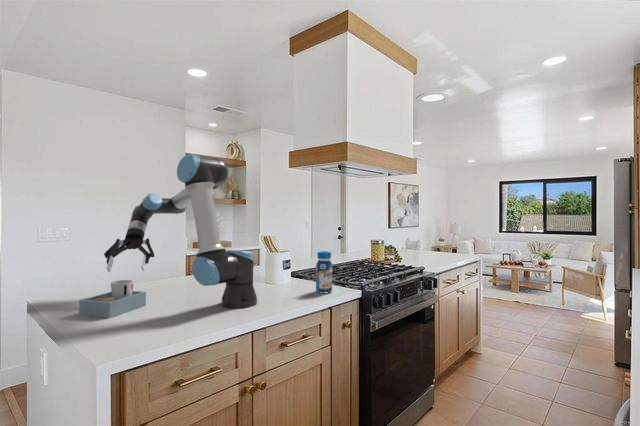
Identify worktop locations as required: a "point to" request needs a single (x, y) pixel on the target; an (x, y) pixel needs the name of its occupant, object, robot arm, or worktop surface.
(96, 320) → the worktop surface
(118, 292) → the cup
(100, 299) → the walnut cube
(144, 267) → the robot arm
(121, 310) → the tote
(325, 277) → the beverage bottle
